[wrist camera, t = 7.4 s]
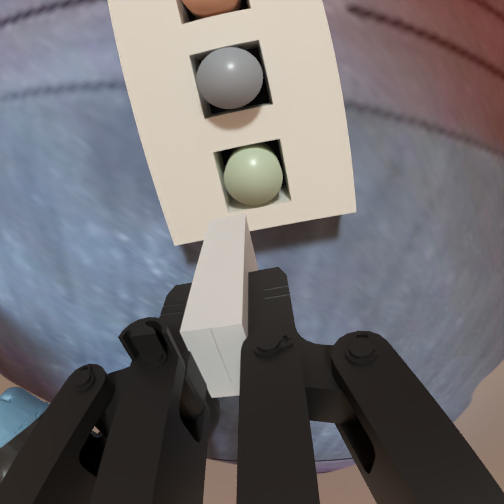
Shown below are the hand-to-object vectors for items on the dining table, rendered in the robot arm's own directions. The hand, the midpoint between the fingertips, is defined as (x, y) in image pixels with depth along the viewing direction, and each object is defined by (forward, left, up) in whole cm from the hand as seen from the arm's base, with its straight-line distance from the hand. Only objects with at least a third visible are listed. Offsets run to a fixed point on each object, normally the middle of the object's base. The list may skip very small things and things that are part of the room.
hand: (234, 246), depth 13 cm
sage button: (0, -1, -13) cm, 13 cm away
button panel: (+7, -1, -14) cm, 15 cm away
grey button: (+7, -1, -12) cm, 14 cm away
